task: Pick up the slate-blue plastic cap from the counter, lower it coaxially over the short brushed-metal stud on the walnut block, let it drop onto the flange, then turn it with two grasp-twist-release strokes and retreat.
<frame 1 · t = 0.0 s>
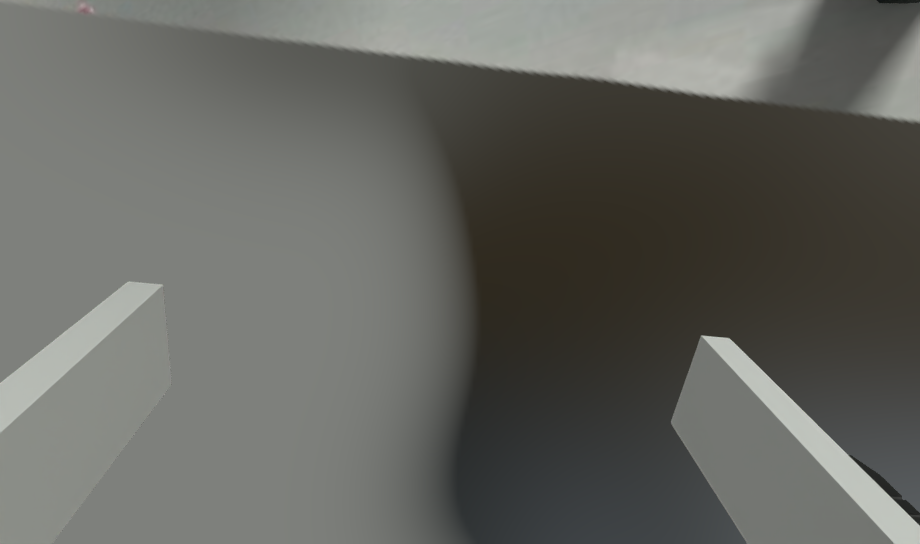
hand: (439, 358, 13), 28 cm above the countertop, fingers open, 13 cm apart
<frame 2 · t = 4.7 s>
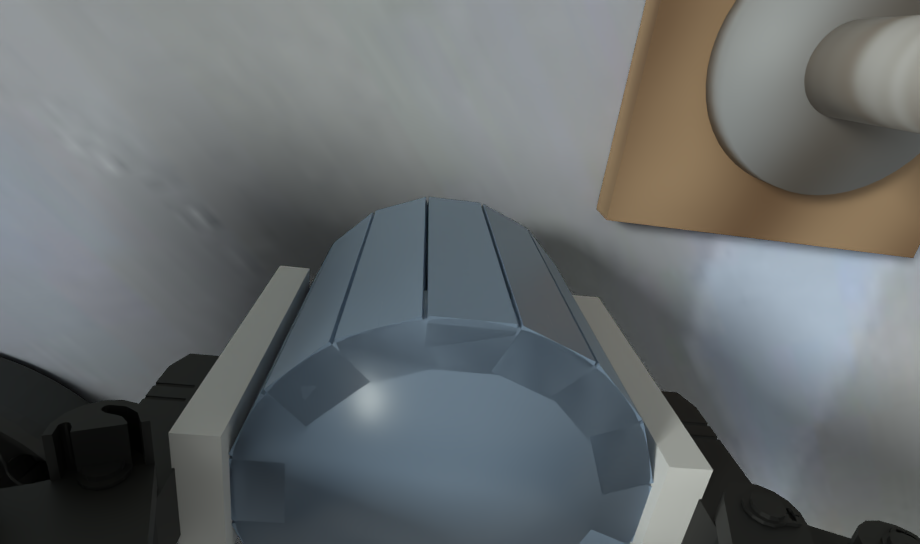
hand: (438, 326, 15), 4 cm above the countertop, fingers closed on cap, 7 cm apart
stud block: (799, 67, 16), on the countertop
cap: (438, 321, 15), point 3 cm above the countertop, touching gripper
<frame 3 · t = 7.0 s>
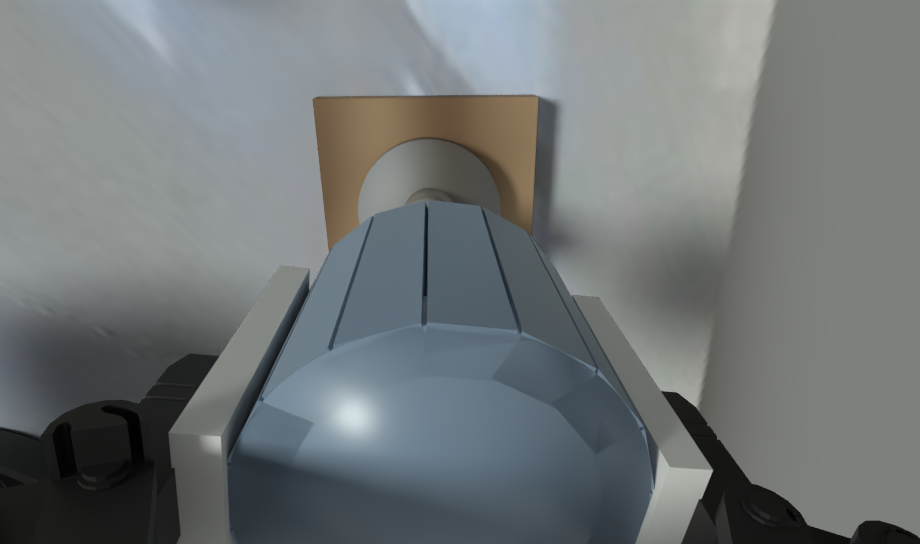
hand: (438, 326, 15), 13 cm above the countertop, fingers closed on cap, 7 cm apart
stud block: (429, 200, 27), on the countertop
cap: (438, 324, 15), point 13 cm above the countertop, touching gripper
when the fingers open (4 cm above the countertop, at t = 9.0 s): cap drops 1 cm, resting on stud block.
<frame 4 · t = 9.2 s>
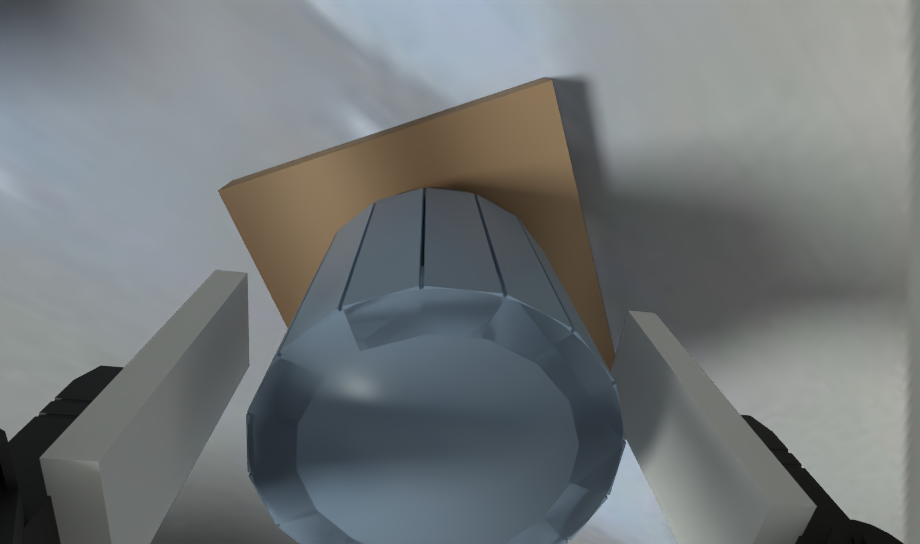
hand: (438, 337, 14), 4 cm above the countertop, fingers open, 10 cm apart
stud block: (436, 274, 18), on the countertop
cap: (435, 304, 16), point 2 cm above the countertop, touching stud block
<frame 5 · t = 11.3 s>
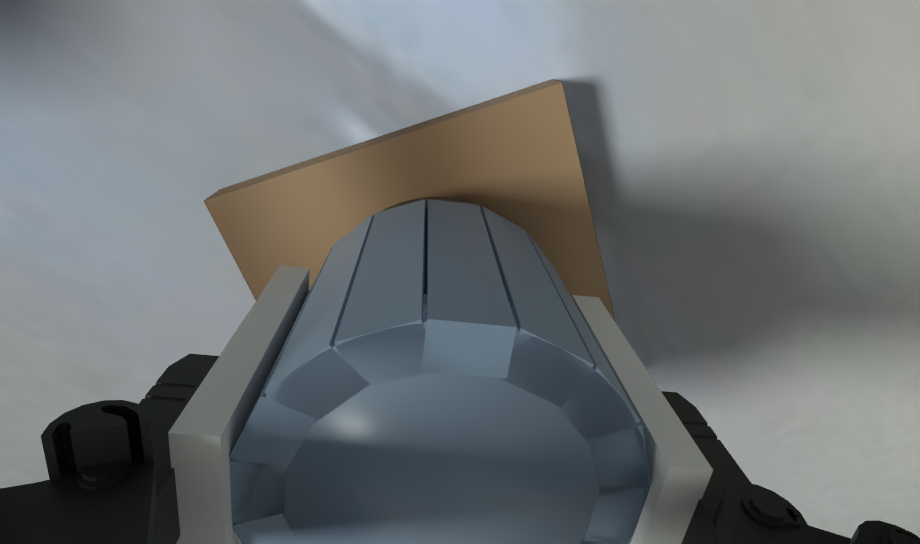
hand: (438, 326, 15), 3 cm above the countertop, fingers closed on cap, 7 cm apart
stud block: (437, 287, 17), on the countertop
cap: (437, 323, 15), point 2 cm above the countertop, touching gripper
when the fingers open (4 cm above the countertop, at t = 12.3 s): cap drops 1 cm, resting on stud block.
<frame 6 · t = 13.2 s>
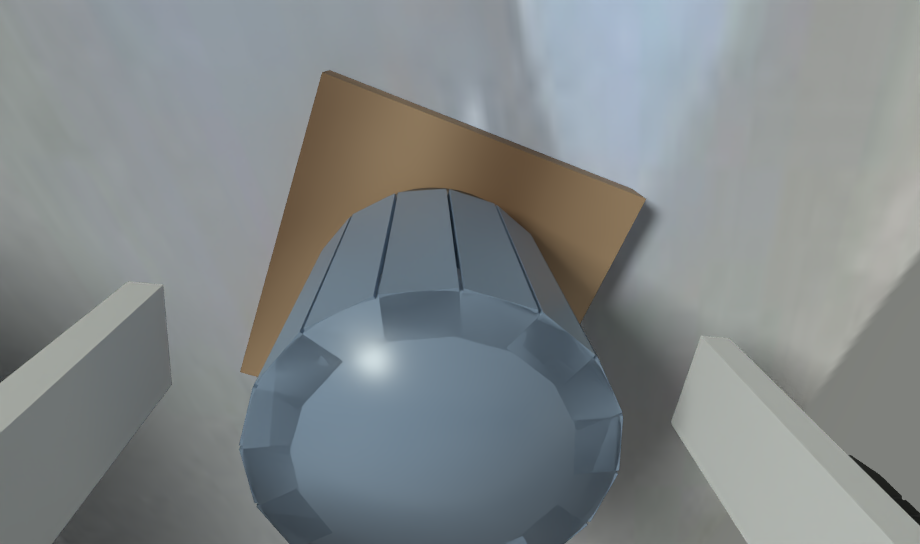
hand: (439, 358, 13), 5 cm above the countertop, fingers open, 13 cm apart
stud block: (433, 274, 18), on the countertop
cap: (432, 305, 16), point 2 cm above the countertop, touching stud block
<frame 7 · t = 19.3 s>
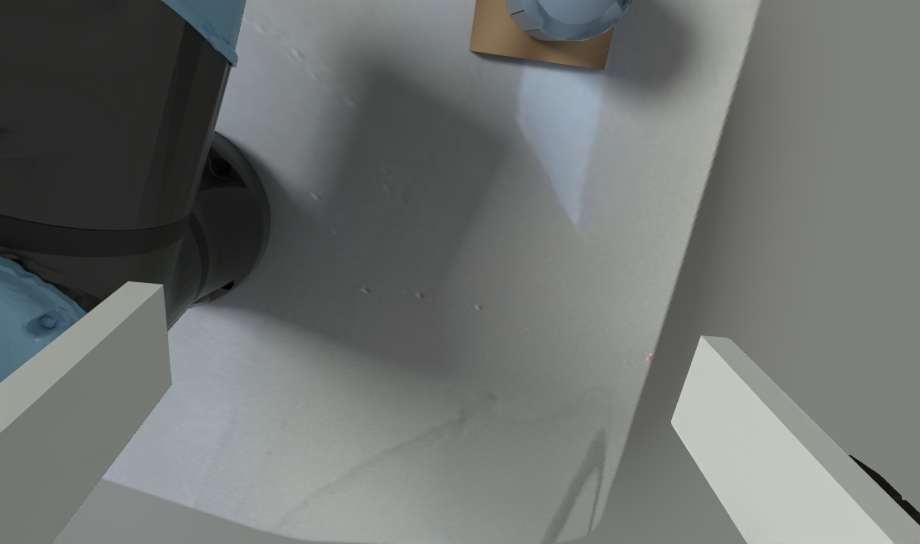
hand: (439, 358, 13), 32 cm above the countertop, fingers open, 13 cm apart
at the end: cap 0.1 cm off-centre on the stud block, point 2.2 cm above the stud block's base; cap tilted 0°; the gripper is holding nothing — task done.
